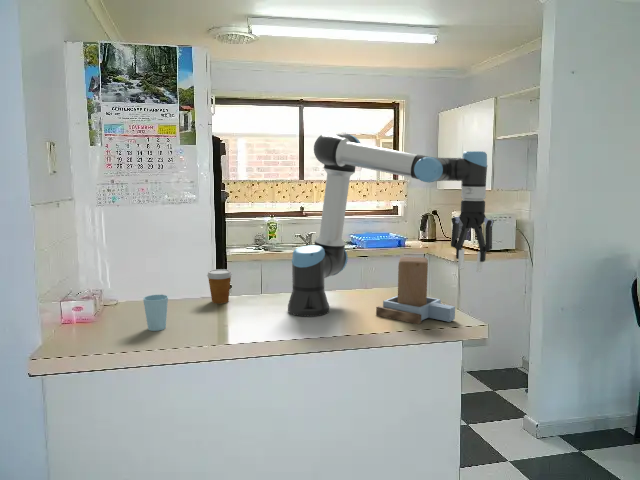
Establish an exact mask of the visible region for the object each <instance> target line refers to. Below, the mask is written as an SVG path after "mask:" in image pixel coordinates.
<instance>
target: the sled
mask: <svg viewBox="0 0 640 480" xmlns="http://www.w3.org/2000/svg"><path fill="white" fill-rule="evenodd" d="M441 303H442V300H441V299H440V298H435V297H429V296H427V303H426V305H424V306H421V307H416V306H411V305H406V304H401V303H398V295H396V296H394V297H390V298H388V299H385V300H383V302H382V307H386V308H391V309H396V310H401V311H406V312H411V313H416V314H421V322H422V321H424V320H426V319H435V320H438V321H442V322H443V321H444V322H448V323H450V322H452V321H454V320H455V319H456V317H455V316H456V306H453V305H450V304H445V303H442V304H441ZM444 304H445V305H444Z"/></svg>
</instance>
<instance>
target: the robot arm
mask: <svg viewBox="0 0 640 480" xmlns="http://www.w3.org/2000/svg"><path fill="white" fill-rule="evenodd" d="M313 153H314V156H315V158H316V160H318V162H319V163H321V164H323V169H324V171H325V172H326V174H327V175H326V181H325V189H324V198H323V205H322V212H321V213H322V215H321V222H320V228H319V235H318V236H317V237H316V238H315V239H314V244H309V245H302V246H299V247H297V248H295V249H294V250H293V252H292V257H291V263H292V264H291V265H292V268H291V269H292V270H291V272H292V281H291V282H292V290H291V293H290V298H289V301H288V304H287V312H288V313H289V314H291V315H293V316H299V317H317V316H323V315H326V314H328V313H329V312H330V303H329V302H328V298H327V295H326V291H325V279H327V278H329V277H331V276H332V277H333V276H336V275H338V274H339V273H341V272H342V271H343V270H344V269H346V267H347V264H348V260H349V257H348V252H347V251H346V248H345V246H346V242H345V241H344V240H343V233H344V232H343V231H344V224H345V217H346V209H347V202H348V194H349V188H350V187H349V186H350V180H351V177H352V176H353V174H355V173H356V168H360V169H361V168H363V169H367V170H373V171H376V172H381V173H388V174H390V175H391V174H392V175H397V176H401V177H405V178H406V177H407V178H410V179H415V180H419V181H421V182H424V183H435V182H443V181H444V182H446V181H447V182H453V181H454V182H460V181H461V196H460V197H461V199H462V200H461V201H460V214H459V216H454V217H452V218H451V223H452V226H451V240H450V247H451V248H454V249H455V253H456V255H455V259H456V260H458V261H457V263H458V264H457V269H458V270H463V269H464V268H465V267H464V266H465V265H464V264H465V248H464V244H465V241H466V238H467V235H468V232H469V230H470V229H472V230H473V231H474V232H475V235H476V239H477V244H478V248H479V251H477V256H476V257H477V258H476V259H477V260H476V272H477V273H481V272H482V271H483V263H484V262H486V257H487V256H486V255H487V252H489V251H492V250H493V226H494V223H495V221H494V219H489V218H487V217H486V214H485V212H486V201H485V199H486V198H487V197H486V196H487V195H486V192H487V173H488V155H487V152H486V151H477V150H476V151H473V150H472V151H463V153H462V157H433V156H430V155H429V156H428V155H424V154H416V153H411V152H406V151H400V150H394V149H390V148H384V147H380V146H379V147H378V146H375V145H373V146H372V145H367V144H362V143H361V142H360V140H359V139H358V138H357V137H356V136H354V135H351V134H349V133H346V132H345V133H343V132H333V131H328V132H323V133H322V134H320V135H319V136H318V137H317V139H316V140H315V142H314V144H313ZM460 222H461V224H462V226H461V231H459V230H460V229H459V228H460ZM482 225H485V237H484V233H483V227H482ZM459 232H460V233H459Z"/></svg>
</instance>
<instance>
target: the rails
mask: <svg viewBox="0 0 640 480" xmlns="http://www.w3.org/2000/svg"><path fill="white" fill-rule="evenodd" d="M441 304H444V305H446V304H445V303H443V302H441ZM375 309H376V312H375V314H376V316H379V317H383V318H388V319H393V320H397V321H402V322H407V323H411V324H417V325H421V324H422V321H421V314H416V313H411V312H406V311H401V310H396V309H391V308H386V307H383V306H381V305H377V306H376V308H375Z"/></svg>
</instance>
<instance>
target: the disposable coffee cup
mask: <svg viewBox="0 0 640 480" xmlns="http://www.w3.org/2000/svg"><path fill="white" fill-rule="evenodd" d="M232 275H233V274H232V271H231V270H229V269H227V268H226V269H225V268H223V269H222V268H220V269H219V268H218V269H211V270H208V272H207V275H206V276H207V279H208V283H209V284H208V286H209V290H210V297H211V303H213V304H217V305H218V304H226V303H228V302H229V299H230V297H229V296H230V291H231V290H230V289H231V278H232Z"/></svg>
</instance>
